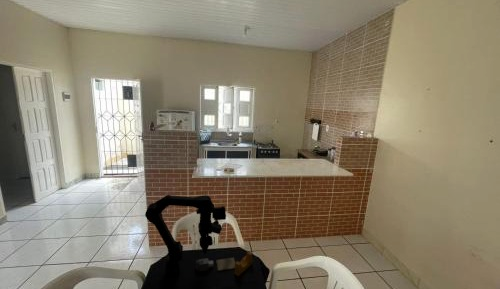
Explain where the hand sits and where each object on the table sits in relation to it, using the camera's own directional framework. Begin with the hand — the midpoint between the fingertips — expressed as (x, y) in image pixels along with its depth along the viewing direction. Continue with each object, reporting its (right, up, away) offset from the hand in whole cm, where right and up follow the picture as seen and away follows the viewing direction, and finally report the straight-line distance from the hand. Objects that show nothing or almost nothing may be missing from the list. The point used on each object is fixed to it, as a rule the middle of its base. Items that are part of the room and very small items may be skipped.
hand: (204, 247), depth 114 cm
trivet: (+11, -12, +5) cm, 17 cm away
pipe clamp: (+20, -13, +3) cm, 24 cm away
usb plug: (0, -12, +2) cm, 12 cm away
